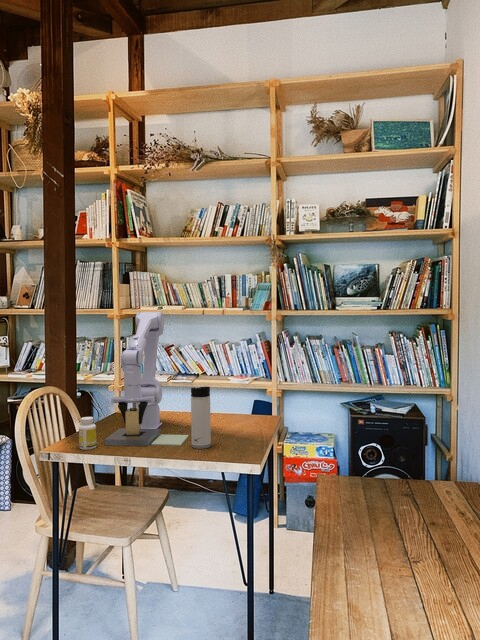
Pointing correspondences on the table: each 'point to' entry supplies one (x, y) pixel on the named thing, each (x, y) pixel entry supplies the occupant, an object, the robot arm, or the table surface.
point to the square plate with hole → (133, 438)
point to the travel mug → (200, 417)
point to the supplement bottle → (87, 433)
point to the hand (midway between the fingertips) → (133, 423)
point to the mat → (170, 440)
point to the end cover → (132, 422)
